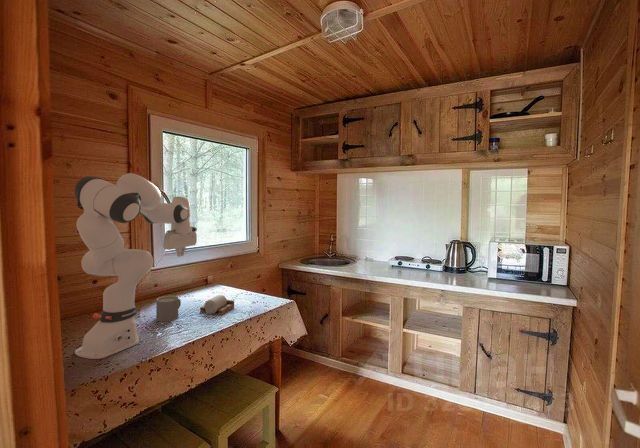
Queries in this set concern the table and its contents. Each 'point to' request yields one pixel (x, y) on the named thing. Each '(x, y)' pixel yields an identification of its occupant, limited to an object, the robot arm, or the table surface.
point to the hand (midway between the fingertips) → (180, 256)
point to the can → (215, 304)
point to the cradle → (221, 311)
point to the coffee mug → (167, 308)
